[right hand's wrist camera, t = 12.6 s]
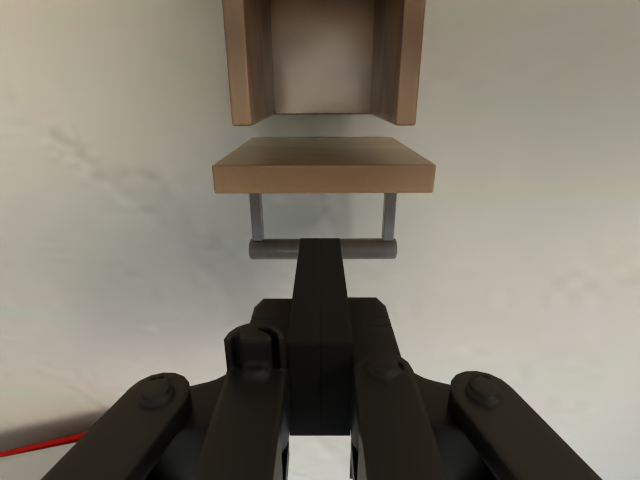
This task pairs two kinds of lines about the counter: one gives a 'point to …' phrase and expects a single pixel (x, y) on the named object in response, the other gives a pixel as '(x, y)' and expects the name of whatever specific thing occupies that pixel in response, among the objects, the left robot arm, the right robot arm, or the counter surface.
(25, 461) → the toy
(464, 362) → the counter surface
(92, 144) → the counter surface
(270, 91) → the drawer
